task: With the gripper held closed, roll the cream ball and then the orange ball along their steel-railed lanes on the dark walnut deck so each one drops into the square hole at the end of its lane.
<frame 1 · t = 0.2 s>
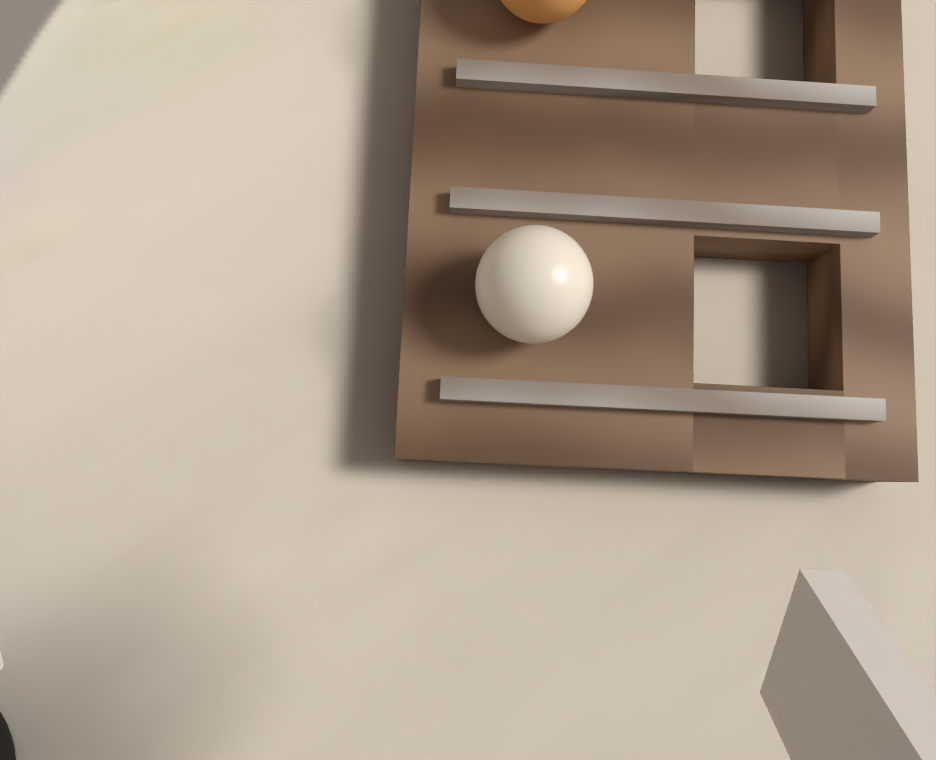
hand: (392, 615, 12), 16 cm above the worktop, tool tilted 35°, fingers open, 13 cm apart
cream ball: (533, 284, 25), point 4 cm above the worktop, touching hole deck
hole deck: (644, 178, 31), on the worktop
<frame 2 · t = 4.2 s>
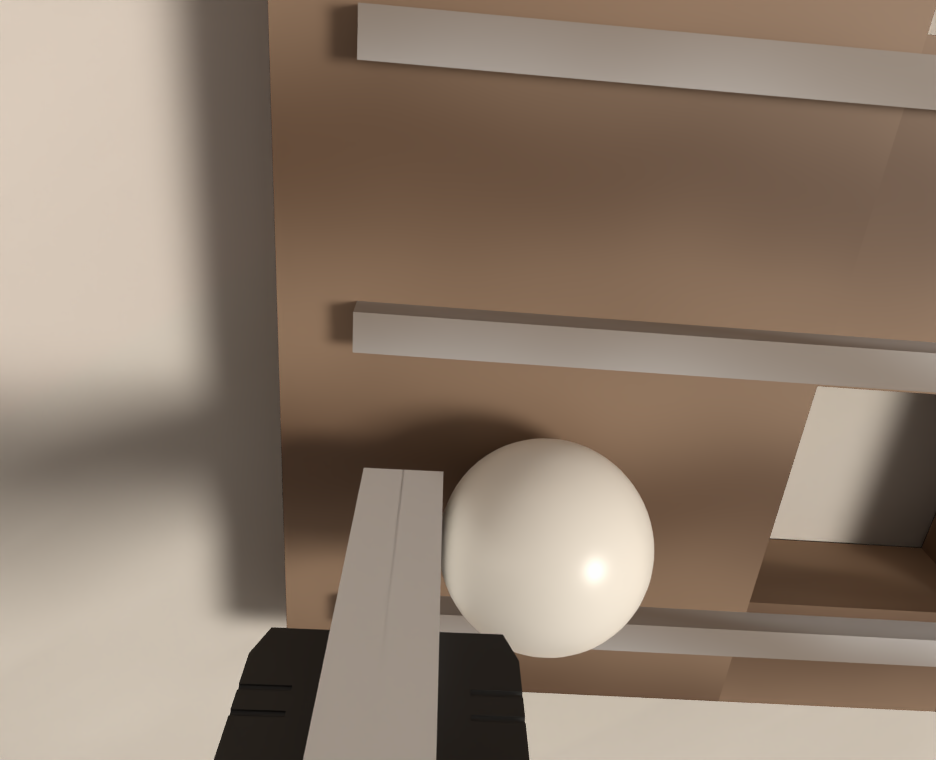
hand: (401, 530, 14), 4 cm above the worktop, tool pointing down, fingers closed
cream ball: (544, 544, 14), point 4 cm above the worktop, tilted 21°, touching gripper, hole deck
hole deck: (752, 195, 16), on the worktop
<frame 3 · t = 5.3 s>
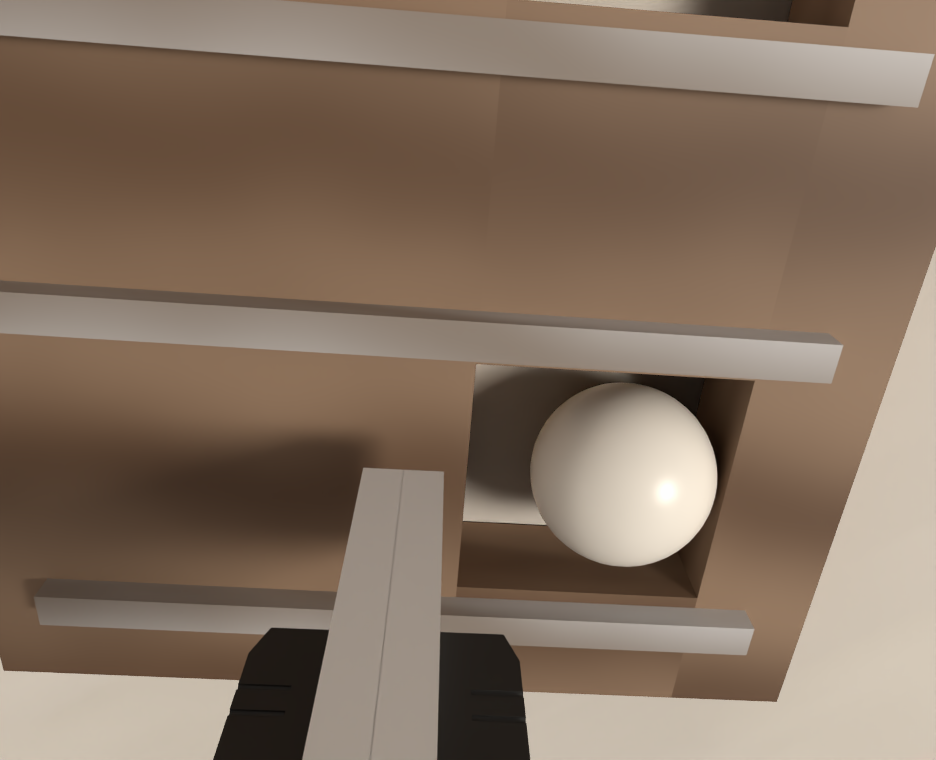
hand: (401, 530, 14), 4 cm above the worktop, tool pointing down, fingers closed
cream ball: (621, 473, 16), point 2 cm above the worktop, tilted 83°
hole deck: (427, 171, 15), on the worktop
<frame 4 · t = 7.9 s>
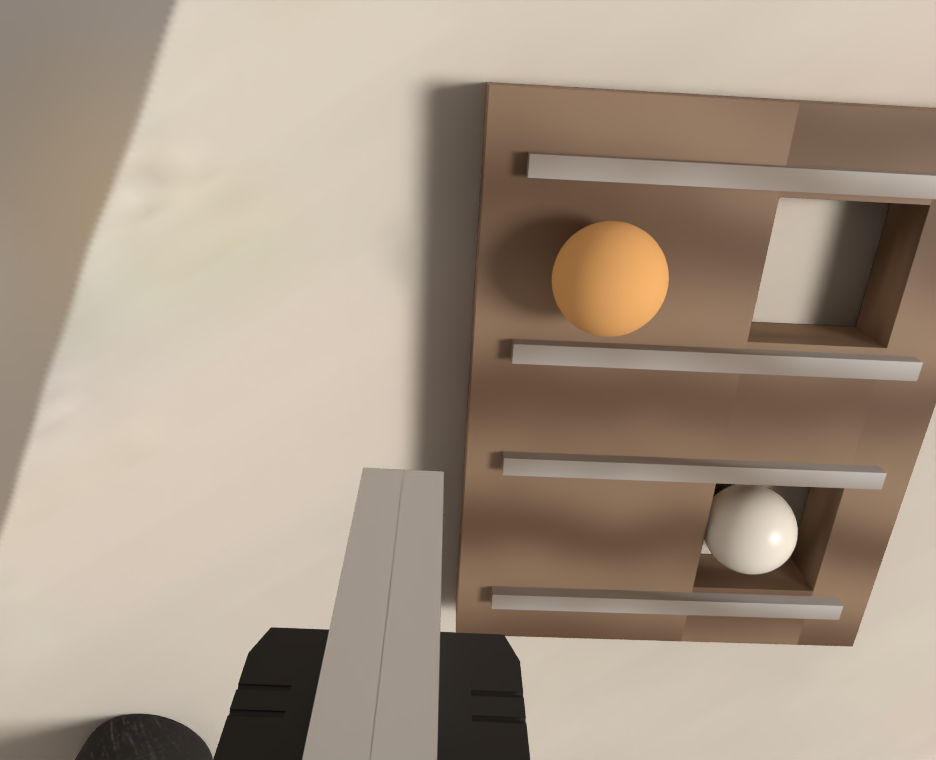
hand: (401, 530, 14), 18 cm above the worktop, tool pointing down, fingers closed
travel mug: (151, 756, 41), on the worktop
orange ball: (609, 279, 26), point 4 cm above the worktop, touching hole deck
cream ball: (748, 528, 33), point 2 cm above the worktop, tilted 120°
hole deck: (684, 388, 32), on the worktop
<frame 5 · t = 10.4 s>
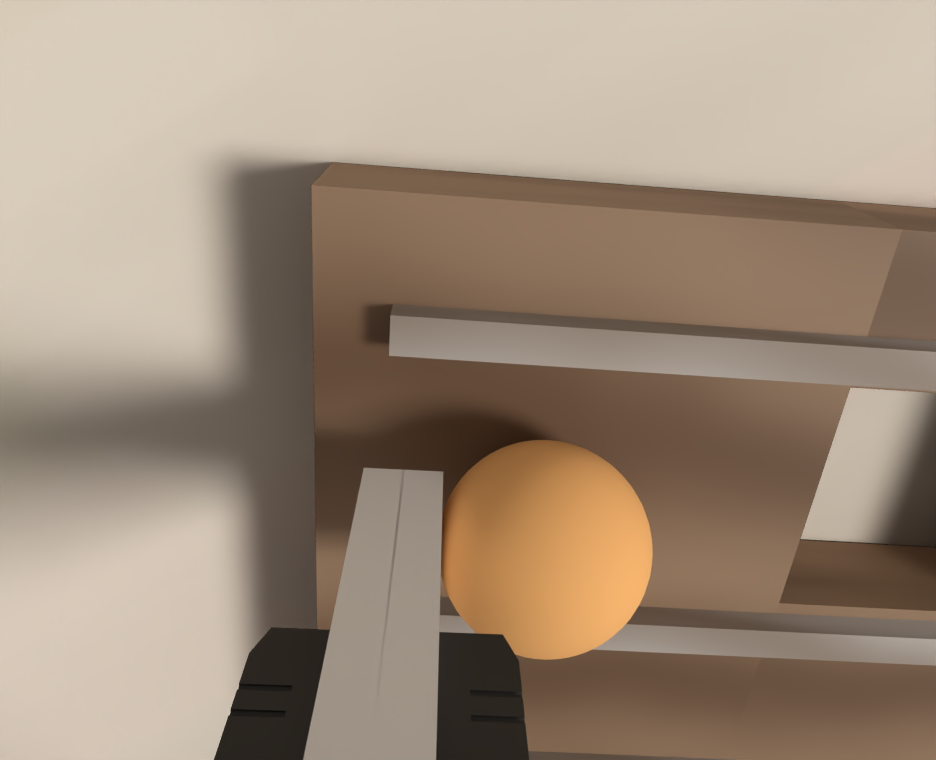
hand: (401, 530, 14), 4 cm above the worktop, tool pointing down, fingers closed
orange ball: (543, 546, 14), point 4 cm above the worktop, touching gripper, hole deck
hole deck: (672, 627, 21), on the worktop
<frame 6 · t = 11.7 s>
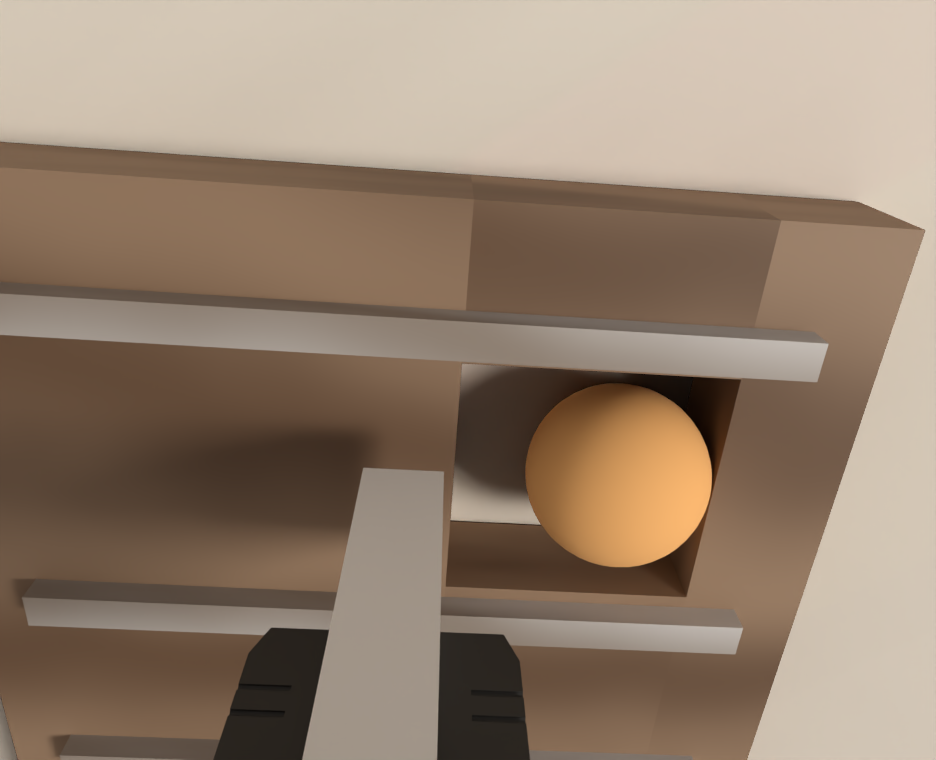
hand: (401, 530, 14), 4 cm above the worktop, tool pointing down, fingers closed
orange ball: (616, 473, 16), point 2 cm above the worktop, tilted 90°
hole deck: (396, 614, 20), on the worktop
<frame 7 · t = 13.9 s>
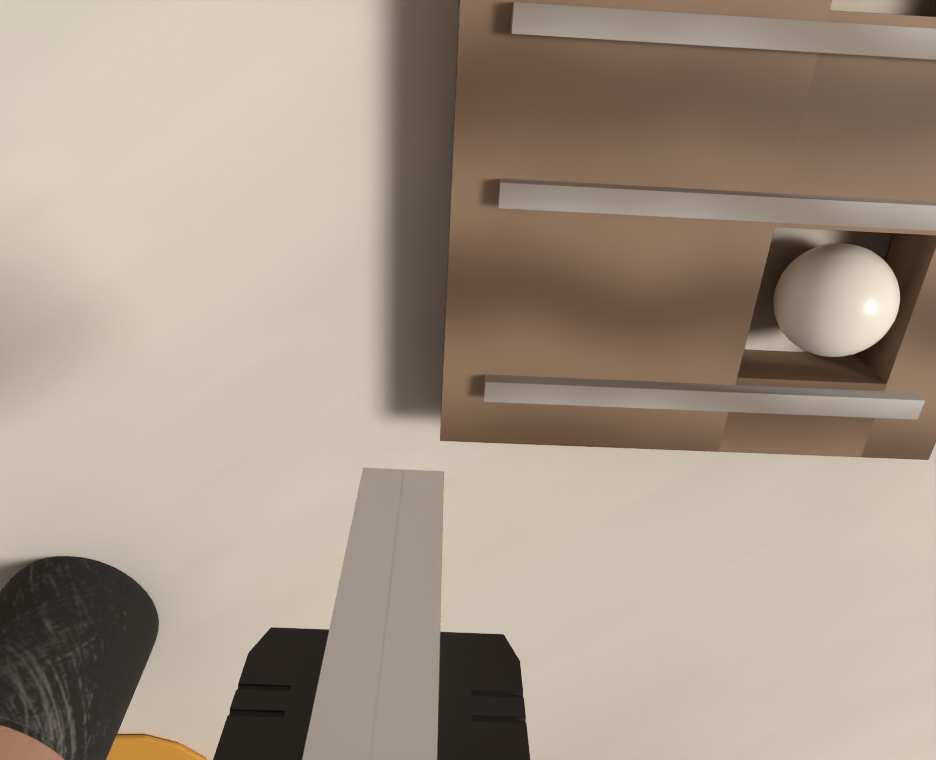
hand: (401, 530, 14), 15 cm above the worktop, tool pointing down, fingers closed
travel mug: (85, 610, 35), on the worktop
cream ball: (834, 300, 26), point 2 cm above the worktop, tilted 95°
hole deck: (735, 112, 25), on the worktop
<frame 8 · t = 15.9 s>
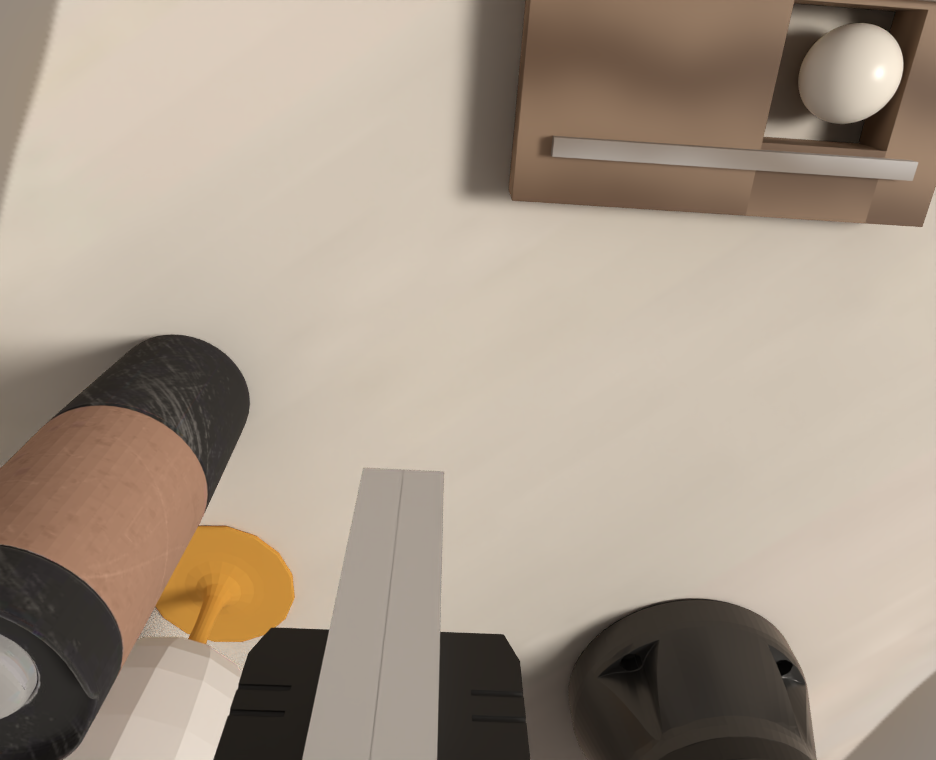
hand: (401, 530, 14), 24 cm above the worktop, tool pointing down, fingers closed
cup: (222, 582, 46), on the worktop
travel mug: (185, 393, 40), on the worktop
cream ball: (849, 74, 32), point 2 cm above the worktop, tilted 87°
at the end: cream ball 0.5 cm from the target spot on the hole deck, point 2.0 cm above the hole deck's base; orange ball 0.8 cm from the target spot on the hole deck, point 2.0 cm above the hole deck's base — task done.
